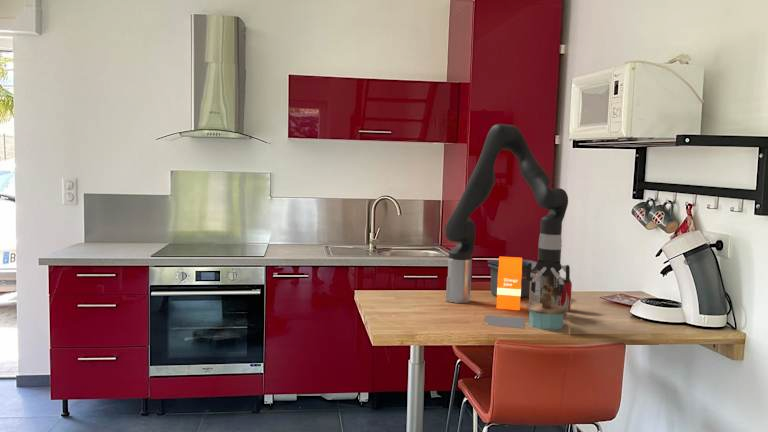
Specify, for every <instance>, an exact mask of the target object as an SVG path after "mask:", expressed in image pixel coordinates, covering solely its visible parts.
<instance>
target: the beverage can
mask: <svg viewBox="0 0 768 432" xmlns="http://www.w3.org/2000/svg"><path fill="white" fill-rule="evenodd" d="M561 278H562V279H563V280H565V279H566V277H561ZM559 284H560V282H559ZM572 288H573V283H572V281H571V280H570V282H569V283H566V284H564V288H563V294H561V295H559V301H558V305H560V306H563V307H565V308H566V312H567V311H569V310H570V309H571V305H572V303H571V302H572Z"/></svg>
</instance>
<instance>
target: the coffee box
mask: <svg viewBox="0 0 768 432" xmlns="http://www.w3.org/2000/svg"><path fill="white" fill-rule="evenodd" d="M537 272H538V271H531V275H530V276H531V277H534V276H535V275H536V273H537ZM558 273H559V275H560V274H561V273H560V271H559V272H558ZM560 276H561V275H560ZM535 282H536V287H535V293H533V291H531V284H532V282H531V281H530V291H529V297H528V304H533V303H542V302H543V292H551V304H555V305H558V301H559V281H558V280H557V278H556V277H555V276H554V277H549V276H546V277H544V276H542V275H541V276H540V277H539V278H538V279H537V280H536V281H535ZM528 312H530V311H529V310H528Z"/></svg>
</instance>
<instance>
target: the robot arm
mask: <svg viewBox="0 0 768 432" xmlns="http://www.w3.org/2000/svg"><path fill="white" fill-rule="evenodd" d="M501 151H510V152H511V153H512V154H513V155H514V156H515V157H516V159H517V160H518V165H519V171H520V173H521V176H522V177H523V179H524V181H525V182H526V183H527V184H528V186H529V187H530V189H531V191H532V194H533V196H534V199H535V201H536V203H537V205H538V206H539V207H541V208H542V209H544V210H549V211H548V213H547V214H546V215H545V216H543V217H541V219H540V229H539V236H538V237H539V238H538V251H537V261H536V262H537V263H531V262H529V263H528V269H527V278H526V279H527V280H529V281H531V282H532V284H531V291H533V293H535V287H536V282H535V281H536V280H537V279H538V278H539V277H540V276H541V275H542V276H544V277H546V276H549V277H554V276H555V277H556V278H557V280H558V281H559V282H560V284H559V295H561V294H563V288H564V284H566V283H569V282H570V281H571V278H570V272H571V269H570V268H571V267H570V265H569V264H566V265H563V264H562V263H561V259H562V258H561V257H562V246H563V245H562V232H563V231H562V228H563V220H564V218H565V215H566V212H567V208H568V205H569V197H568V194H567V192H566V190H565V189H564V188H559V187H557V188H556V187H555V188H553V187H552V188H551V187H549V185H550V184H551V178H550V177H549V175H548V173H547V172H546V171H545V170H544V168H543V167H542V166H541V164H539V162H538V161H537V159H536V158H535V157H534V154H533V153H532V151H531V149H530V147H529V146H528V143H527V142H526V139H525V138H524V136H523V134H522V132H521V130H519V128H518V127H517V126H516V125H513V124H505V123H497V124H494V125H493V126H491V128H490V129H489V131H488V133H487V135H486V138H485V141H484V144H483V146H482V150H481V153H480V156H479V158H478V160H477V163H476V165H475V167H474V169H473V172H472V173H471V176H470V177H469V180H468V182H467V184H466V186H465V189H464V191H463V192H462V193H463V194H461V197H460V199H459V201H458V204H457V205H456V207H455V209H454V210H453V212H452V214H451V215H450V217H449V218H448V220H447V223H446V224H445V228H444V234H445V237H446V239H447V240H448V241H450V242H453V243H457V244H456V245H455V246H454V247H453V248H452V249H450V250H449V252H448V261H447V277H446V290H445V292H446V293H445V295H446V296H445V301H446V302H450V303H453V302H454V303H453V304H465V303H467V304H468V303H470V302H471V292H472V290H471V289H472V288H471V287H472V262H473V261H472V260H473V254H474V251H475V246H476V245H475V243H476V232H477V231H476V225H475V221H473V219H471V218H470V216H471V215H472V214H473V213H474V212H475V211H476V210H477V209H478V208H479V207H481V205H483V204H484V202H485V201H486V200H487V199H488V198H489V196H490V194H491V192H492V189H493V187H494V186H495V183H496V182H495V181H496V174H495V163H496V160H497V158H498V155H499V154H500V152H501ZM535 266H536V268H537V269H538V272H537V273H536V275H535V276H534V277H531V276H530V275H531V269H534V267H535ZM561 270H563V272H565V278H566V279H565V280H563V279H562V278H563V277H562V276H561V275H559V273H558V272H560V271H561Z"/></svg>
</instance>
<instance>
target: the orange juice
mask: <svg viewBox="0 0 768 432" xmlns="http://www.w3.org/2000/svg"><path fill="white" fill-rule="evenodd" d="M498 260H499V268H498V285H497V296H496V308H495V309H499V310H513V311H520V309H521V297H520V296H521V275H522V260H523V257H516V256H513V257H512V256H499V257H498Z"/></svg>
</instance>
